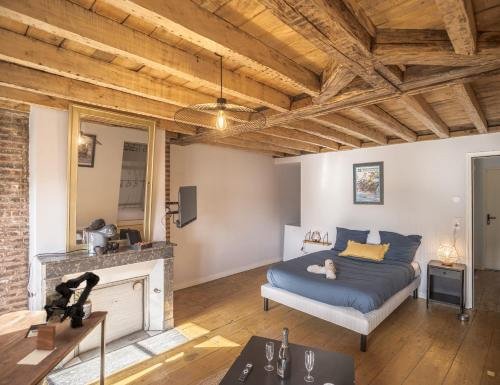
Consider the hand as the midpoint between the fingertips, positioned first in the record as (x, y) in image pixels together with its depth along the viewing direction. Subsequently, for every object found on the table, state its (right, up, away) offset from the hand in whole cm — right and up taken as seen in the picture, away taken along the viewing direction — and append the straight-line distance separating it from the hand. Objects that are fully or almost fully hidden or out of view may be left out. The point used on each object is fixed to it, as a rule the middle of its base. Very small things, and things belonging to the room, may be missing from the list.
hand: (53, 322), depth 177 cm
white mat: (+1, -13, -14) cm, 19 cm away
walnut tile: (+1, -13, -8) cm, 15 cm away
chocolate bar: (-22, -13, +14) cm, 29 cm away
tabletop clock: (-21, -12, +32) cm, 40 cm away
